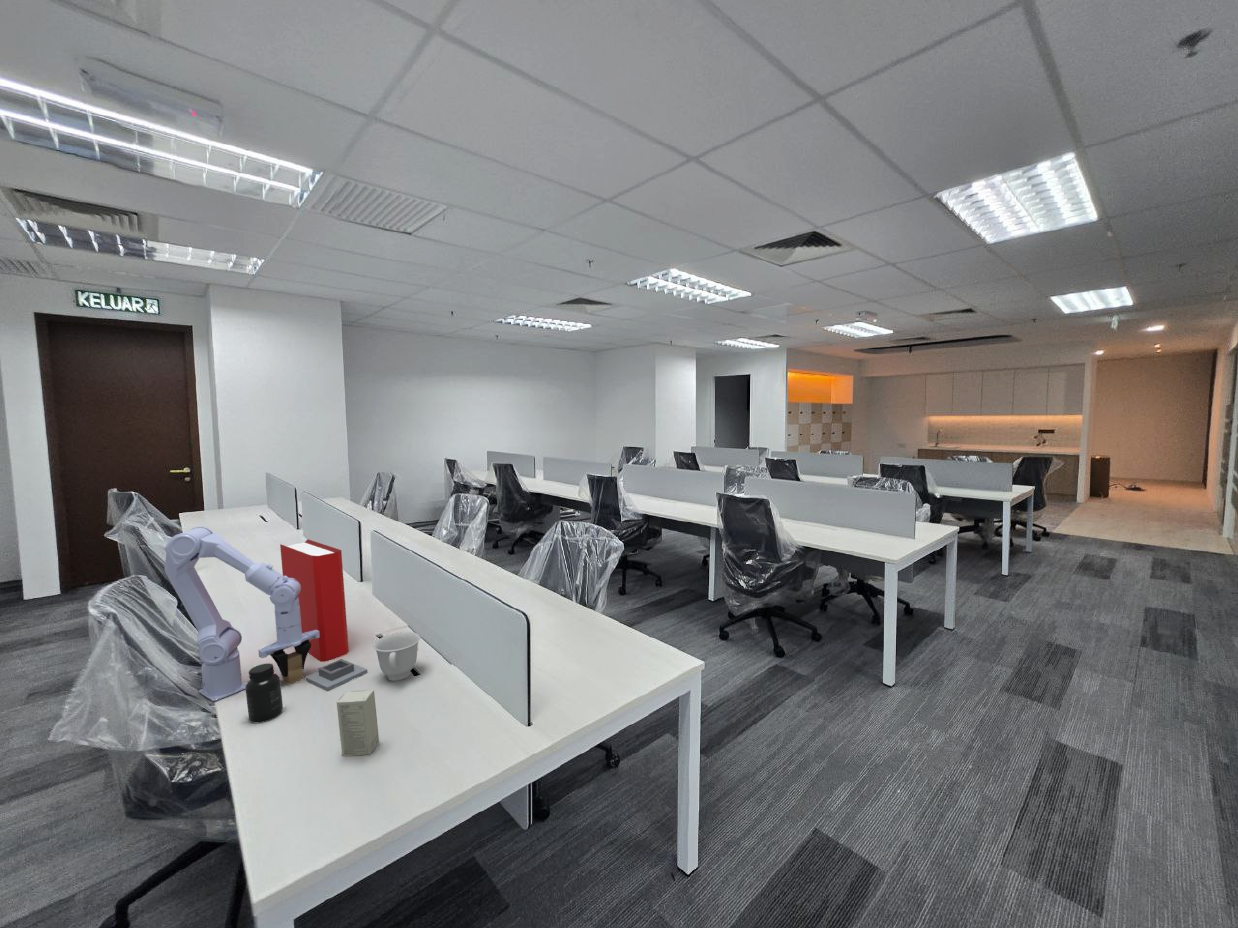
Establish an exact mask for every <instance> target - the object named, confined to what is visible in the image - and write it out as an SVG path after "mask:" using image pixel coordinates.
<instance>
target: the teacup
mask: <svg viewBox="0 0 1238 928" xmlns="http://www.w3.org/2000/svg"><path fill="white" fill-rule="evenodd" d="M420 640H421V635H420V634H419V633H416V632H413V631H401V632H400V631H399V632H394V633H390V634H387V635H385V636H382V637H380V638H379V639H377V640H376V641H375V642H374V643H373V645H372V648H373V650H375V651H376V656H377V659H378V660H377V661H378V664H379V667H380V670H381V672H382V673H383V674H384V675H386V676H387V679H389V680H390V681H401V680H405V679H406V678H408V677H409V676H410V675H411V670H412V669H414V667H415V666H416V663H417V659H418V646H419V644H418V643H419V642H420ZM389 680H388V681H389Z"/></svg>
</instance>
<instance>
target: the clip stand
mask: <svg viewBox="0 0 1238 928" xmlns="http://www.w3.org/2000/svg"><path fill="white" fill-rule="evenodd" d="M366 674H368V669H367V668H365V667H363V666H360V665H357V664H355V663H353V662H351V661H348V660H346V659H342V658H339V659H338V660H335V661H333V662H330V663H329V664H326V665H324V666H321V667H318V671H316V672H314V673H312V674H310V675H307V676H305V681H306V682H308V683H309V684H312V685H314V686H316V687H318V688H320V689H322V690H324V691H326V692H328V691H329V692H330V691H331V690H333V689H335V688H338V687H340V686H342V685H344V684H346V683H349V682H351V681H353V680H355V679H357V678H359V677H361V676H363V675H366ZM354 678H355V679H354ZM352 679H353V680H352ZM350 680H351V681H350ZM343 683H344V684H343Z"/></svg>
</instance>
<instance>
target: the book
mask: <svg viewBox="0 0 1238 928" xmlns="http://www.w3.org/2000/svg"><path fill="white" fill-rule="evenodd" d="M279 546H280V548H279V549H280V557H281V558H280V559H281V570H282V571H281V572H282V576H285V575H286V576H287V577H288V578H294V579H296V580H297V581H298V582H299V583H300V585H301V590H300V593H299V594H298V596H297V597H299V605H300V615H301V627H302V633H305V632H309V631H313V630H318V631H319V635H320V637H319V638H316V639H315V638H314V639H311V640H309V642H310V643H311V648H310V650H309V652H308V653H309V654H308V655H310V656H311V657H313V658H314V659H316V660H318V661H319V662H320V663H323V662H326V661H327V662H330V661H332V660H335V659H338V658H340V657H344V656H346V655H348V654H349V652H350V649H349V647H350V646H349V636H348V625H347V622H348V620H347V611H346V610H347V609H346V607H347V606H346V597H345V596H346V595H345V593H346V592H345V583H344V582H345V581H344V569H343V568H344V567H343V558H342V557H343V556H342V550H341V549H339V548H336V547H333V546H331V545H326V544H323V543H320V542H317V541H313V540H312V539H306V540H305V541H304V542H300V543H295V544H294V543H293V544H290V545H283V544H281V543H280V545H279ZM329 660H330V661H329ZM327 662H326V663H327Z"/></svg>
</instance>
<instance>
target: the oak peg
mask: <svg viewBox="0 0 1238 928" xmlns="http://www.w3.org/2000/svg"><path fill="white" fill-rule="evenodd" d="M287 654H288V659H287V668H288V676H286V677H284V676H282V681H283V682H284V683H286V684H288V685H292V684H294V682H295V683H296V681H297V682H299V681H301V679H302V680H303V679H304V669H303V668H302V656H301V654H299V653H297V652H295V651H293V652H290V653H287Z"/></svg>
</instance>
